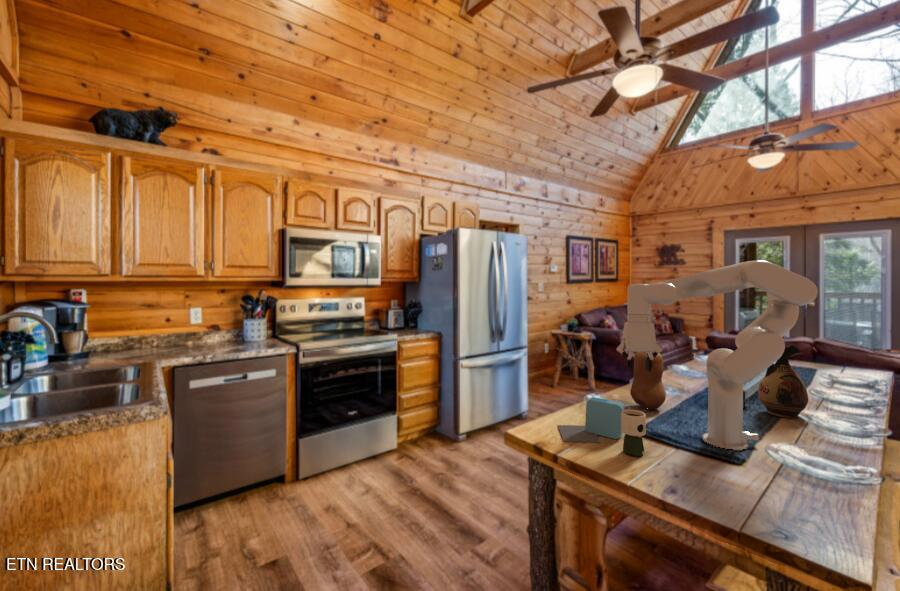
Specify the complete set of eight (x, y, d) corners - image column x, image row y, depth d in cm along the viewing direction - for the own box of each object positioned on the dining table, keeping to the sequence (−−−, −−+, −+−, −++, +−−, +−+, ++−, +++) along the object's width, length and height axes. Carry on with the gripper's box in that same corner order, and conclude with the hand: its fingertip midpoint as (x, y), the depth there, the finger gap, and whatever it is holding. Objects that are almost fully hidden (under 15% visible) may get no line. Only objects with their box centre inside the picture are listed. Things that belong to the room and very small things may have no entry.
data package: (623, 436, 141) (624, 402, 140) (620, 440, 137) (621, 405, 137) (588, 428, 148) (589, 396, 147) (584, 431, 144) (586, 399, 144)
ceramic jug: (803, 411, 163) (804, 338, 162) (811, 423, 150) (813, 344, 149) (751, 405, 172) (752, 336, 171) (755, 416, 159) (756, 341, 158)
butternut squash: (672, 409, 169) (672, 350, 168) (655, 415, 161) (655, 354, 160) (640, 401, 180) (640, 346, 180) (623, 406, 173) (623, 349, 172)
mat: (590, 426, 150) (590, 425, 150) (600, 443, 135) (600, 441, 135) (557, 425, 152) (557, 424, 152) (563, 441, 137) (563, 440, 137)
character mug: (638, 462, 121) (638, 420, 120) (614, 455, 126) (614, 414, 125) (651, 451, 128) (651, 411, 128) (629, 445, 133) (629, 406, 133)
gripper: (660, 317, 142) (660, 368, 143) (610, 318, 144) (610, 368, 145) (669, 320, 135) (669, 373, 135) (616, 320, 137) (616, 372, 137)
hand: (639, 370), depth 140 cm, fingers open, 5 cm apart
